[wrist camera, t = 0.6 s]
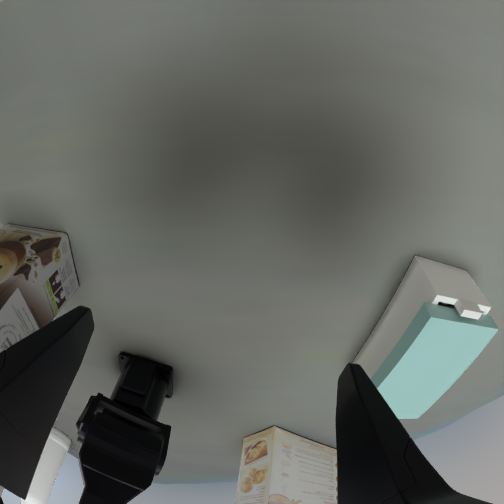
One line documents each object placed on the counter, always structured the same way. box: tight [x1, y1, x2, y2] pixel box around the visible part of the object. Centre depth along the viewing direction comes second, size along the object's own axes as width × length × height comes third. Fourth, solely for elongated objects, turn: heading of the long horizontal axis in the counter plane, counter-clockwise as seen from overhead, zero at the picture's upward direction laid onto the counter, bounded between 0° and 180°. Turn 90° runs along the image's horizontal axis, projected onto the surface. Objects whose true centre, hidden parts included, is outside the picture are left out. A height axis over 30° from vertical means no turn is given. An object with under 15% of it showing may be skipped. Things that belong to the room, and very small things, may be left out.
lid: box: [371, 302, 499, 419], centre depth 21 cm, size 12×7×2 cm, turn 168°
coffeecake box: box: [235, 426, 337, 504], centre depth 33 cm, size 15×7×20 cm, turn 50°
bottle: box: [20, 427, 71, 504], centre depth 44 cm, size 8×8×30 cm
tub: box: [352, 255, 491, 379], centre depth 24 cm, size 14×6×6 cm, turn 168°
